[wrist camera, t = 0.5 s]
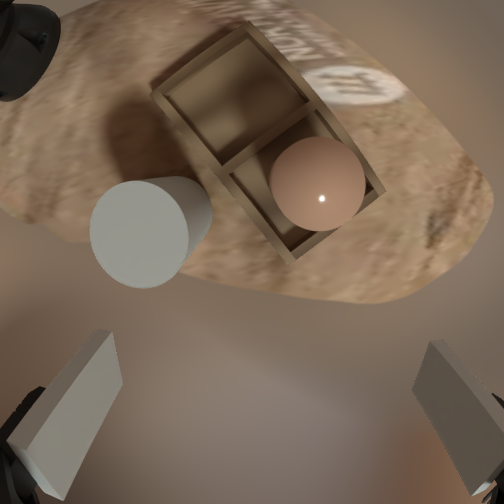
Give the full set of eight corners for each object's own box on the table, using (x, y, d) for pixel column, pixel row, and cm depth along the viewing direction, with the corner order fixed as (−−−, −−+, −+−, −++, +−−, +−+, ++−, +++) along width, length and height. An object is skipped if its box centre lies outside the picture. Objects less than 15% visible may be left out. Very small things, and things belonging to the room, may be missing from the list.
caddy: (156, 99, 30) (149, 94, 27) (249, 30, 28) (249, 20, 25) (286, 258, 34) (288, 265, 32) (377, 189, 32) (386, 191, 30)
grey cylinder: (176, 160, 32) (134, 157, 20) (228, 214, 33) (212, 238, 22) (128, 212, 33) (73, 234, 22) (177, 263, 35) (141, 307, 23)
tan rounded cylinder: (254, 173, 31) (252, 174, 22) (307, 133, 30) (328, 118, 20) (295, 225, 33) (310, 249, 23) (346, 186, 31) (382, 194, 22)
